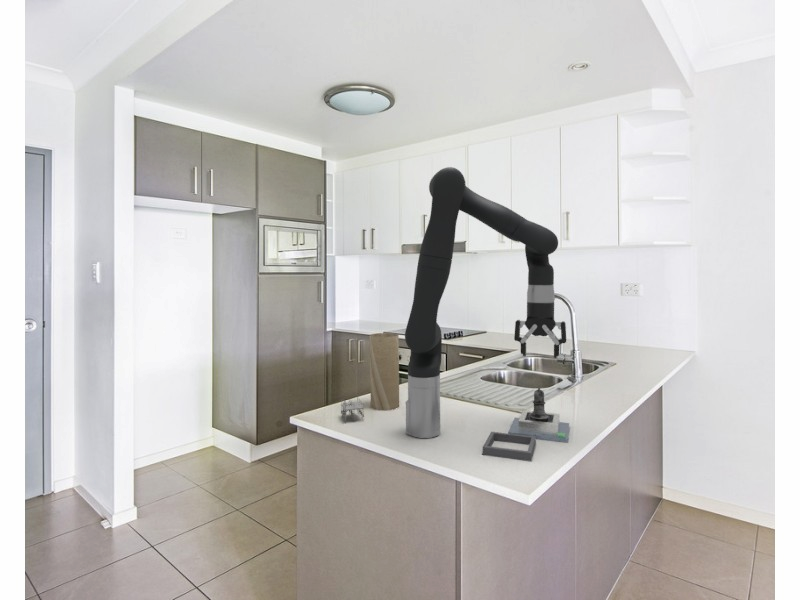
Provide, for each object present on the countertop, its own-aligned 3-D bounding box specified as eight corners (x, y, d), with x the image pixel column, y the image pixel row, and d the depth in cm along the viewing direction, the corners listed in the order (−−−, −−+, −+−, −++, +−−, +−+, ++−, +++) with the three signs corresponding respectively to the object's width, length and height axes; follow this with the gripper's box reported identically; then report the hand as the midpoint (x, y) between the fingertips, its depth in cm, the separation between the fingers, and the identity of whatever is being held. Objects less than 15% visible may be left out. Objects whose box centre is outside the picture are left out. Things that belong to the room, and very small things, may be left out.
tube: (381, 412, 156) (380, 337, 154) (365, 405, 164) (364, 334, 163) (405, 406, 162) (404, 335, 160) (388, 400, 170) (387, 332, 168)
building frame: (344, 424, 145) (344, 405, 145) (339, 416, 153) (339, 398, 152) (364, 421, 147) (364, 403, 147) (358, 414, 155) (358, 396, 154)
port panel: (507, 435, 133) (508, 421, 133) (514, 420, 146) (514, 407, 146) (567, 442, 127) (567, 428, 127) (569, 426, 140) (569, 413, 140)
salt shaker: (545, 423, 139) (545, 384, 139) (552, 430, 133) (552, 389, 133) (525, 424, 139) (526, 384, 138) (532, 431, 133) (532, 389, 132)
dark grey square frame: (482, 454, 119) (482, 446, 119) (491, 438, 131) (491, 431, 130) (531, 461, 115) (531, 453, 115) (535, 443, 126) (535, 436, 126)
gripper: (513, 301, 133) (512, 357, 134) (566, 302, 128) (565, 360, 129) (516, 299, 140) (516, 353, 141) (567, 300, 135) (566, 356, 136)
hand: (539, 356), depth 135 cm, fingers open, 8 cm apart
